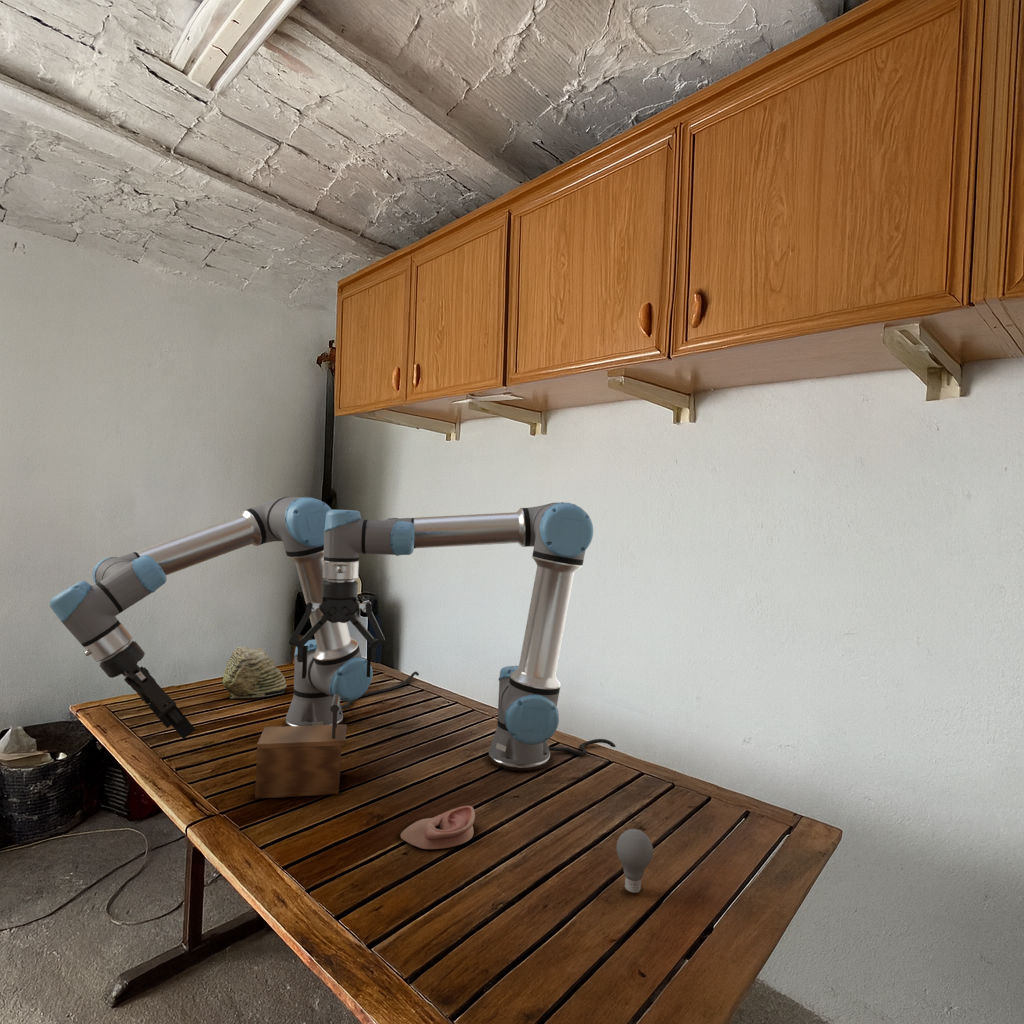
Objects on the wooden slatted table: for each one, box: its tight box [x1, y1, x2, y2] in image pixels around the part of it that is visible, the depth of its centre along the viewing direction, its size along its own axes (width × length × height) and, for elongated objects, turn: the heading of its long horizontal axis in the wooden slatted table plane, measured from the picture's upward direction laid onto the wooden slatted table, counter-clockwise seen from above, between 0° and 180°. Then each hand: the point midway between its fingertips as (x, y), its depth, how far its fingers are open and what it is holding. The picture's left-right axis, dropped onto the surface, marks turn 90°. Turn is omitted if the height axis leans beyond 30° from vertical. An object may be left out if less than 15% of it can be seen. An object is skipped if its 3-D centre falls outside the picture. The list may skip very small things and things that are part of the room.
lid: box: [256, 694, 348, 750], centre depth 138 cm, size 18×10×8 cm, turn 103°
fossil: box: [222, 646, 288, 699], centre depth 198 cm, size 9×18×15 cm, turn 132°
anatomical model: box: [399, 805, 476, 850], centre depth 121 cm, size 13×4×12 cm
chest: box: [254, 746, 342, 800], centre depth 138 cm, size 17×10×10 cm, turn 103°
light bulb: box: [615, 828, 654, 894], centre depth 106 cm, size 6×6×10 cm
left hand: (180, 728), depth 134 cm, fingers open, 13 cm apart
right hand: (336, 676), depth 139 cm, fingers open, 13 cm apart
